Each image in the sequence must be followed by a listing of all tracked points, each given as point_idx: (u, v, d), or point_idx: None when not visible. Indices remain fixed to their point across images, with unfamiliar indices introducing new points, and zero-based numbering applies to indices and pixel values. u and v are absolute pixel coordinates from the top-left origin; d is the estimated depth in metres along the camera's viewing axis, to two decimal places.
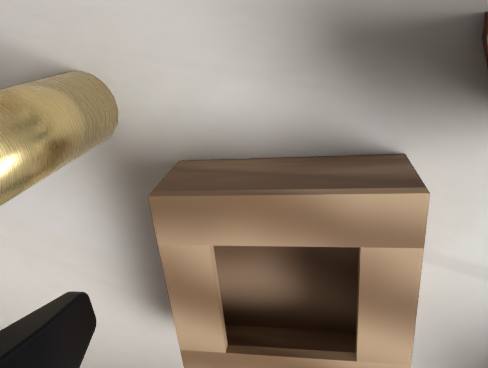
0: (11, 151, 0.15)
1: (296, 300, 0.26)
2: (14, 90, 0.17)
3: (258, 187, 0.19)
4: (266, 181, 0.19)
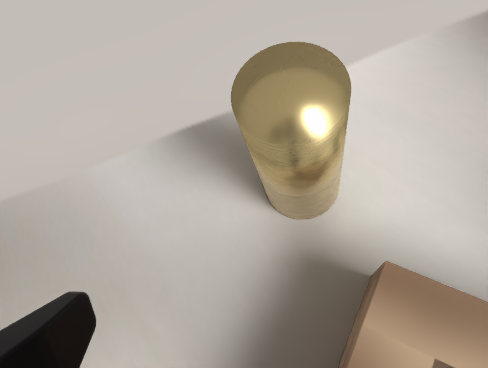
0: (347, 119, 0.15)
1: None
2: None
3: None
4: None
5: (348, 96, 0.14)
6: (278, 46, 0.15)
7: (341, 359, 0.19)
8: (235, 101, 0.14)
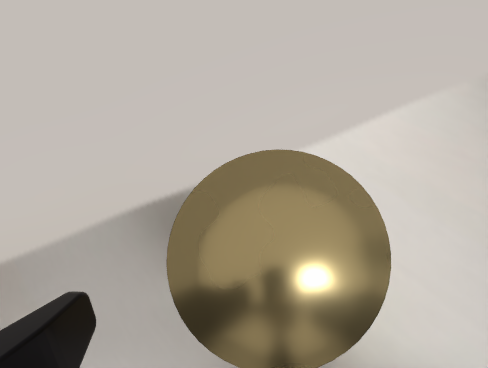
0: None
1: None
2: None
3: None
4: None
5: (386, 274, 0.07)
6: (255, 157, 0.08)
7: None
8: (174, 265, 0.08)
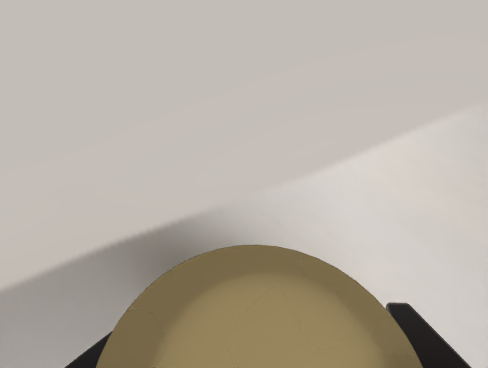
0: None
1: None
2: None
3: None
4: None
5: None
6: (224, 256, 0.05)
7: None
8: None
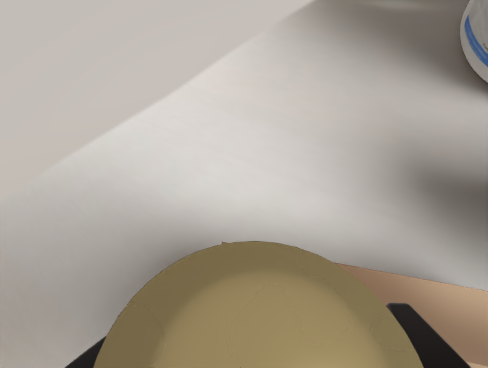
0: None
1: None
2: None
3: None
4: None
5: None
6: (223, 253, 0.05)
7: None
8: None
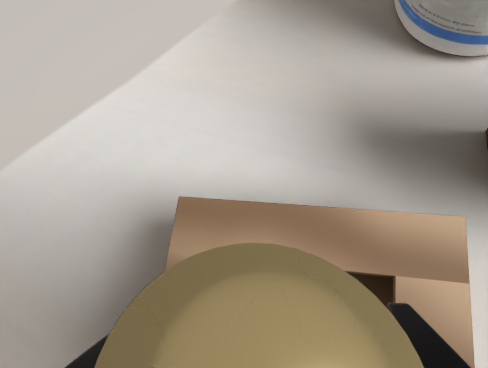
0: None
1: None
2: None
3: None
4: None
5: None
6: (224, 254, 0.05)
7: None
8: None
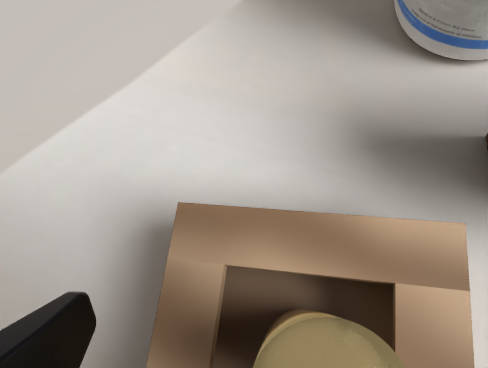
0: None
1: None
2: None
3: None
4: None
5: None
6: (312, 323, 0.10)
7: None
8: None
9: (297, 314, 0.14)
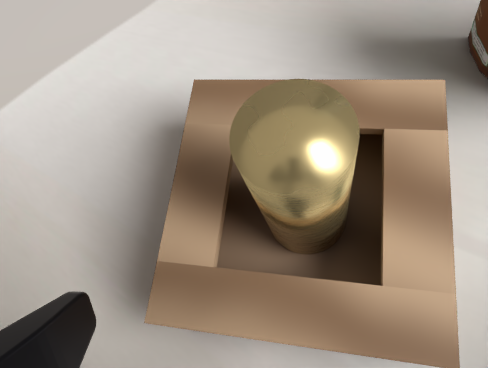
0: (355, 161, 0.14)
1: None
2: None
3: None
4: None
5: (357, 139, 0.12)
6: (278, 84, 0.14)
7: None
8: (234, 146, 0.13)
9: None
